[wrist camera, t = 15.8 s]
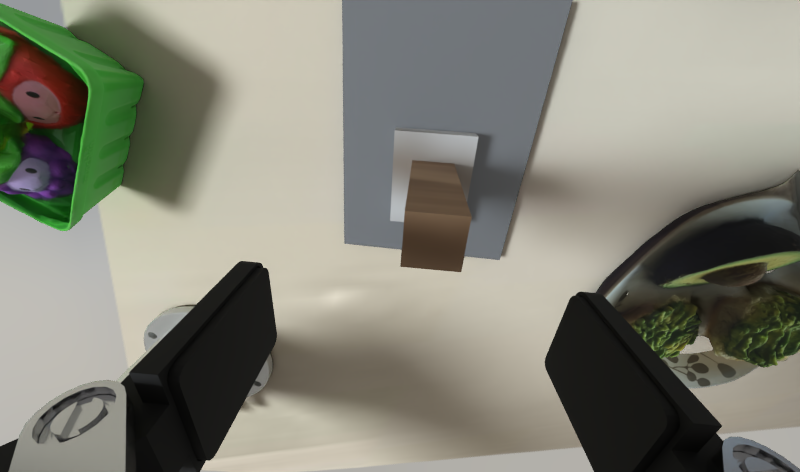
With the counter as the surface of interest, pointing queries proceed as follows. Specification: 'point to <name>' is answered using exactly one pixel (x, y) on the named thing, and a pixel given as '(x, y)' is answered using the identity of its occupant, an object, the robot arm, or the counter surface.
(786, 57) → the counter surface
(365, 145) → the mat
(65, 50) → the fruit basket
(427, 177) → the wood block on base
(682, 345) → the salad plate
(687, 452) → the robot arm
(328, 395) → the counter surface
